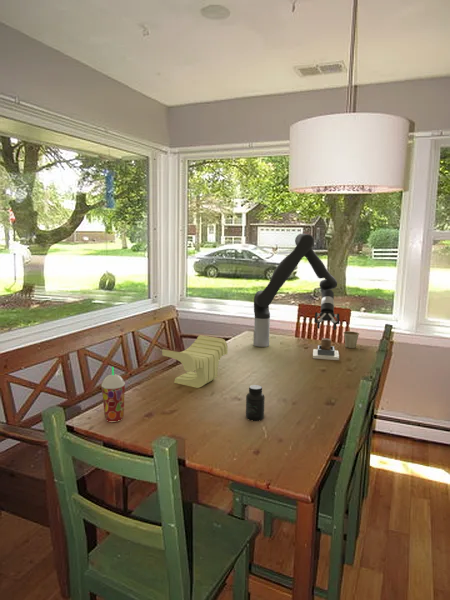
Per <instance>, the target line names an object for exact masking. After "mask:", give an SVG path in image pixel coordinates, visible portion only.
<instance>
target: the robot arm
mask: <svg viewBox="0 0 450 600" xmlns="http://www.w3.org/2000/svg"><path fill="white" fill-rule="evenodd" d="M314 243H315V238H314V237H313V236H312V235H311V234H309V233H299V234H297V235H296V236H295V239H294V244H295V247H294V249H293V250H292V251H291V252H290V253H289V254H288V255H287V256H285V257H284V258H283V259H282V260H281V261H280V262H279V264H278V265H277V266H276V268H275V269H274V271H273V273H272V274H271V278H270V280H269V282H268V284H267V285H266V287H265V288H264V289H263V290H259V291H257V292H256V293H254V297H253V313H254V314H253V315H254V327H253V328H254V329H253V340H252V341H253V344H252V346H254V347H260V348H266V347H269V346H270V329H271V328H270V327H271V326H270V325H271V324H270V323H271V313H270V308H269V307H270V305H271V304H272V302H273V300H274V299H275V297H276V295H277V294H278V292H279V291H280V289H281V288H282V287H283V286H284V284H285V282H286V281H287V280H288V279H289V278H290V276H291V275H292V274H293V272H294V271H295V269H296V268H297V266H298V265H299V263H300V262H301V260H302V259H303V258H304V257H305V259H306V261H308V263H309V265H310V267H311V268H312V270H313V272H314V273H315V275H316V277H317V279H322V280H320V281H319V289H320V292H321V301H320V302H321V303H320V313H319V312H314V320H313V322H314V323H315V324H316V328H317V329H318V330H320V328H321V323H322V322H323V321H324V322H326V321H327V322H331V323H332V324H333V331H335V330H337V325H340V322H341V321H340V313H335V301H334V298H335V297H334V295H335V294H334V291H333V290H334V289H336V288H337V287H338V281H337V279H336V278H335V277H334V276H333V275H332V274H331V272H329V270H328V269H327V267H326V266H325V264H324V262H323V261H322V259H321V258H319V256H318V255H317V253H316V252H315V251H314V250H313V246H314ZM317 318H318V319H317Z"/></svg>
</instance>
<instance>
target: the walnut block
mask: <svg viewBox="0 0 450 600" xmlns="http://www.w3.org/2000/svg"><path fill="white" fill-rule="evenodd" d="M320 343H321V349H324V350H331V346H332V339H331V338H325V337H321V342H320Z"/></svg>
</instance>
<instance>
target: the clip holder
mask: <svg viewBox="0 0 450 600" xmlns="http://www.w3.org/2000/svg"><path fill="white" fill-rule="evenodd" d="M312 359H319V360H329V361H330V360H332V361H333V360H334V361H340V354H339V350H336V349H335V346H333V345H331V350H324V349H321V345H317V348H313V349H312Z"/></svg>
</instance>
